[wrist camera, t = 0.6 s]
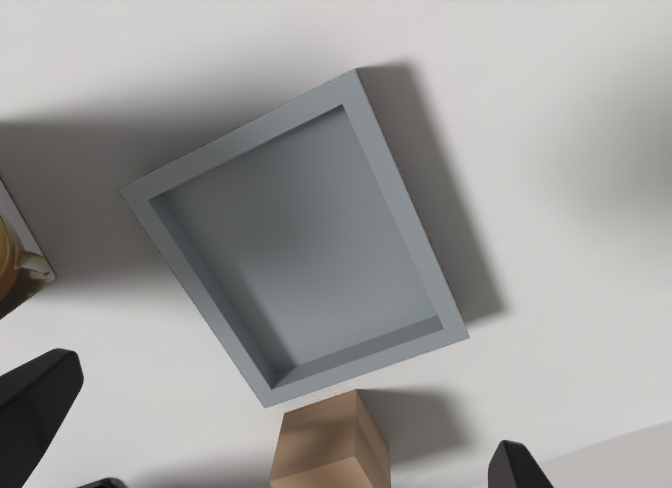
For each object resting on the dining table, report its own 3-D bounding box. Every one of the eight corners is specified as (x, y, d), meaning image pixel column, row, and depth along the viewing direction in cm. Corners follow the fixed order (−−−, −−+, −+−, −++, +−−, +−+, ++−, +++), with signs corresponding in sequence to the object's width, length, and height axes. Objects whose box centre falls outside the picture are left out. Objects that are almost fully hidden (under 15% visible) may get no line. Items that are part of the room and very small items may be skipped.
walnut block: (319, 465, 30) (311, 540, 25) (284, 412, 28) (268, 481, 23) (388, 444, 29) (392, 519, 24) (356, 388, 27) (354, 456, 22)
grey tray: (272, 382, 27) (264, 408, 25) (139, 178, 22) (117, 189, 20) (461, 314, 24) (469, 337, 22) (355, 68, 20) (354, 69, 18)
